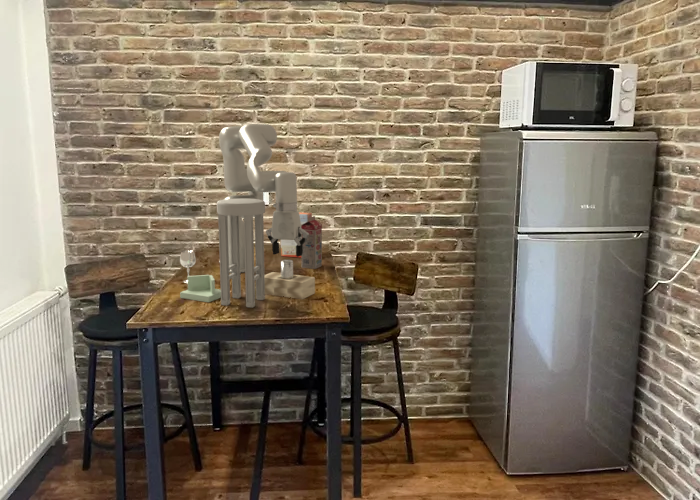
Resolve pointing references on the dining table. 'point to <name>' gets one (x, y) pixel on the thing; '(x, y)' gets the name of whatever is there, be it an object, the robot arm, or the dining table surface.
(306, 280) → the beige block with hole
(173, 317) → the dining table surface
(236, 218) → the stool
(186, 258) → the wineglass
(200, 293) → the v-block
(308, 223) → the juice carton
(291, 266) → the steel axle
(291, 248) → the cracker box
